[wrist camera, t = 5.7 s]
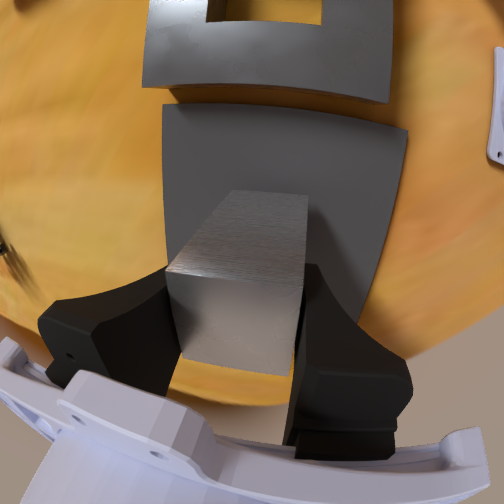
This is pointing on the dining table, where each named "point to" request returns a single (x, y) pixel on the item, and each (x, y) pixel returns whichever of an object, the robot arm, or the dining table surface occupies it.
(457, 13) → the dining table surface
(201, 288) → the steel peg
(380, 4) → the socket block
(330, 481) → the robot arm
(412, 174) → the dining table surface
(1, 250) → the valve
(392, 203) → the rubber mat
